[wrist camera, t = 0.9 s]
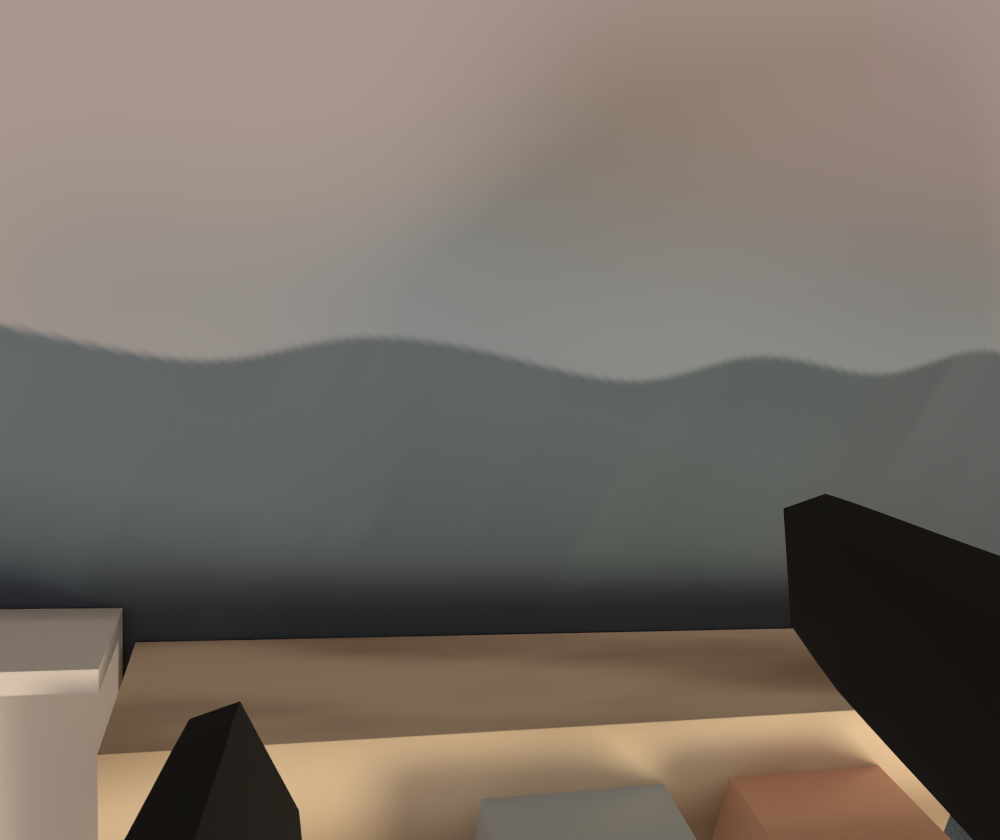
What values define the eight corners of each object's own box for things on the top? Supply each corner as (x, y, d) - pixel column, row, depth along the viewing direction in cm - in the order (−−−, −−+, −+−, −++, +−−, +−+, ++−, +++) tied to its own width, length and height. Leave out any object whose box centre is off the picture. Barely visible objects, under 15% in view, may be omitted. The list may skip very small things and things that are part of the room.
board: (825, 832, 28) (904, 931, 25) (133, 911, 22) (100, 1063, 18) (894, 626, 26) (993, 701, 22) (135, 642, 19) (97, 755, 15)
